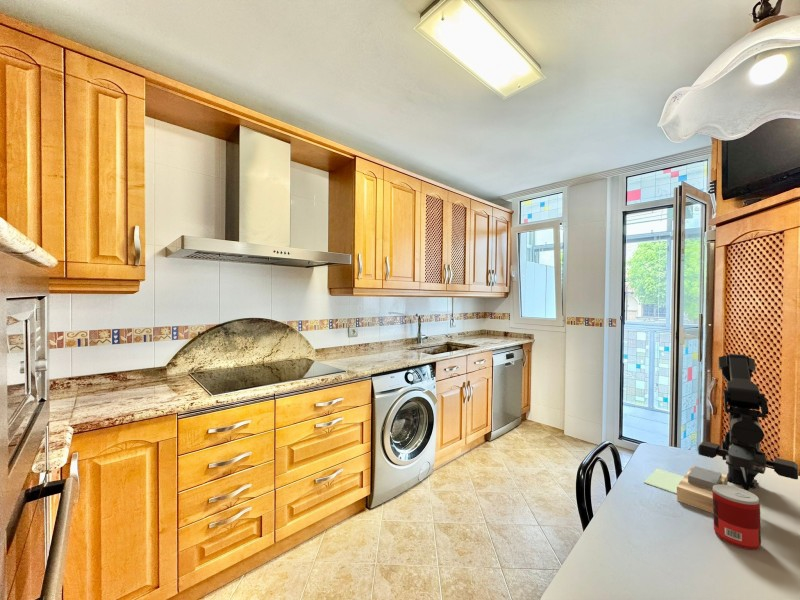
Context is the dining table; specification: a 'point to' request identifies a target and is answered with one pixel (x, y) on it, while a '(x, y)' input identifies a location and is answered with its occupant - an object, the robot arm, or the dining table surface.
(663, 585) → the dining table surface
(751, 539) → the canned food
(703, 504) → the deck
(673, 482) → the mat
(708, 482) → the pale grey box
